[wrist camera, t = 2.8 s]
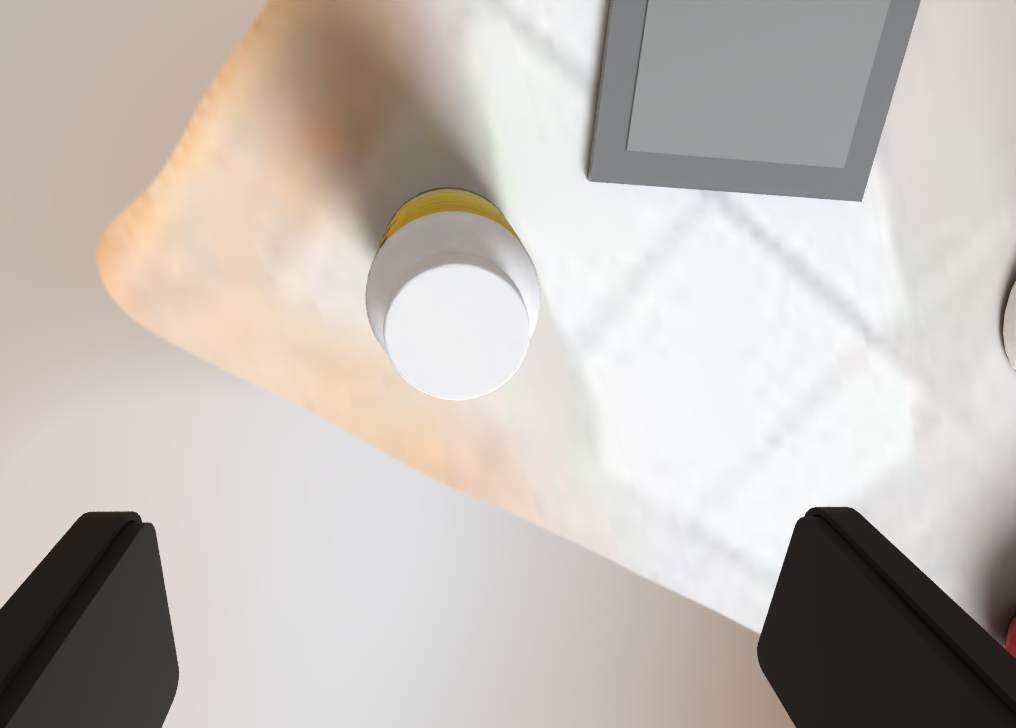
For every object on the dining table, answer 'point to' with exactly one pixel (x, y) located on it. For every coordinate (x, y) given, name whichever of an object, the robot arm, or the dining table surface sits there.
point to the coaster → (748, 94)
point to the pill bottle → (452, 294)
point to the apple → (1011, 638)
